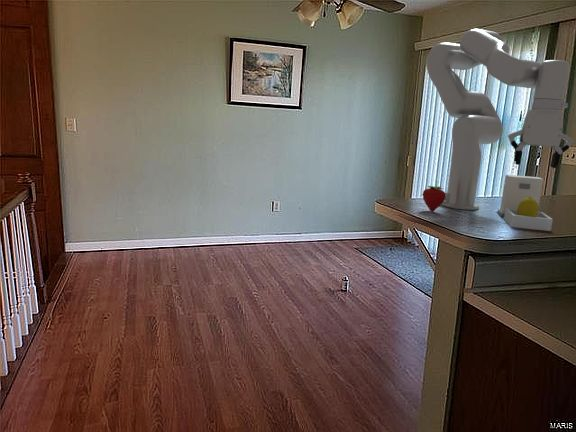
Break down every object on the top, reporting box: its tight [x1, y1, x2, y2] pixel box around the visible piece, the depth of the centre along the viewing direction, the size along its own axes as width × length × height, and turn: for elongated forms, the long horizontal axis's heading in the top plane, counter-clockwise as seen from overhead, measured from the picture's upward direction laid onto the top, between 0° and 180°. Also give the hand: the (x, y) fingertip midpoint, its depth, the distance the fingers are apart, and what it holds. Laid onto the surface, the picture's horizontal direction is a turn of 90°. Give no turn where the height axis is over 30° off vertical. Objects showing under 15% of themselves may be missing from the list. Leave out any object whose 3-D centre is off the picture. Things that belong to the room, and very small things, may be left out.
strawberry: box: [422, 180, 446, 212], centre depth 151 cm, size 6×8×10 cm
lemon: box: [517, 197, 539, 217], centre depth 138 cm, size 6×6×8 cm
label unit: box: [497, 174, 544, 219], centre depth 149 cm, size 11×7×13 cm, turn 76°
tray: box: [503, 209, 554, 232], centre depth 139 cm, size 11×11×4 cm
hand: (535, 165), depth 135 cm, fingers open, 9 cm apart
